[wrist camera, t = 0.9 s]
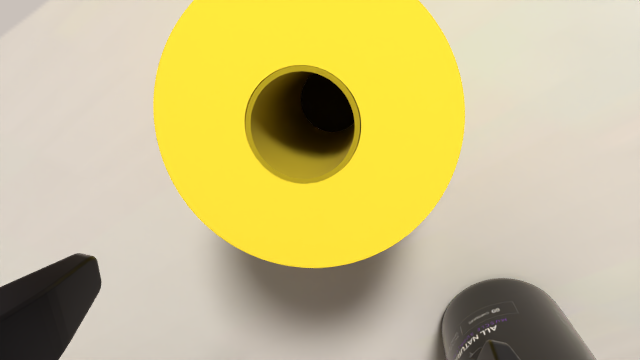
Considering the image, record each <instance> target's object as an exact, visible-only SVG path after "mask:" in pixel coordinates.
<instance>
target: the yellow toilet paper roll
mask: <svg viewBox="0 0 640 360" xmlns="http://www.w3.org/2000/svg"><path fill="white" fill-rule="evenodd" d="M314 73H316V74H319V75H322V76H324V77H326V78H327V79H329V80H331V81H332V82H333V83H335V84H336V85H337V86H338V87H339V88H340V89H341V90H342V92H343V93H344V94H345V96H346V97H347V99H348V101H349V103H350V105H351V108H352V111H353V115H354V123H353V124H352V125H351V126H350V127H348V128H346V129H344V130H341V131H337V132H328V131H323V130H321V129H319V128H317V127H315V126H314V125H313V124H311V123H310V121H309V120H308V119H307V117H306V116H305V114H304V112H303V109H302V104H301V95H302V90H303V87H304V85H305V83H306V81H307V80H308V79H309V77H310V76H311V75H312V74H314ZM153 108H154V124H155V131H156V137H157V141H158V145H159V149H160V153H161V156H162V159H163V162H164V164H165V167H166V169H167V171H168V174H169V176H170V178H171V180H172V182H173V184H174V185H175V187H176V189H177V190H178V192H179V194H180V195H181V197H182V198H183V200H184V201H185V202H186V204H187V205H188V206H189V208H190V209H191V210H192V211H193V212H194V214H195V215H196V216H197V217H198V218H199V219H200V220H201V221H202V222H203V223H204V224H205V225H206V226H207V227H208V228H210V229H211V230H212V231H213V232H214V233H216V234H217V235H218V236H219V237H221V238H222V239H224V240H225V241H227V242H228V243H230V244H231V245H233V246H235V247H236V248H238V249H240V250H242V251H244V252H246V253H248V254H250V255H253V256H255V257H258V258H260V259H263V260H266V261H269V262H273V263H277V264H281V265H286V266H293V267H302V268H325V267H334V266H340V265H346V264H350V263H354V262H357V261H360V260H363V259H366V258H369V257H371V256H374V255H376V254H378V253H380V252H382V251H384V250H386V249H388V248H389V247H391V246H393V245H394V244H396V243H397V242H399V241H400V240H402V239H403V238H404V237H406V236H407V235H408V234H409V233H411V232H412V231H413V230H414V229H415V228H416V227H417V226H418V225H419V224H420V223H421V222H422V221H423V220H424V219H425V218H426V217H427V216H428V215H429V213H430V212H431V211H432V210H433V208H434V207H435V206H436V204H437V203H438V201H439V200H440V198H441V197H442V195H443V193H444V192H445V190H446V188H447V186H448V184H449V182H450V180H451V178H452V175H453V173H454V170H455V168H456V165H457V162H458V158H459V155H460V151H461V147H462V141H463V134H464V124H465V104H464V94H463V87H462V82H461V77H460V73H459V69H458V66H457V63H456V60H455V57H454V55H453V52H452V50H451V48H450V45H449V43H448V41H447V39H446V37H445V36H444V34H443V32H442V30H441V29H440V27H439V26H438V24H437V23H436V21H435V20H434V18H433V17H432V16H431V14H430V13H429V12H428V10H427V9H426V8H425V7H424V6H423V5H422V4H421V3H420V1H419V0H194V1H193V2H192V3H191V4H190V5H189V7H188V8H187V9H186V10H185V12H184V13H183V14H182V16H181V17H180V19H179V20H178V22H177V23H176V25H175V27H174V28H173V30H172V32H171V34H170V36H169V38H168V40H167V43H166V45H165V47H164V50H163V53H162V56H161V59H160V62H159V66H158V70H157V75H156V80H155V87H154V102H153Z"/></svg>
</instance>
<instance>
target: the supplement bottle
mask: <svg viewBox="0 0 640 360" xmlns="http://www.w3.org/2000/svg"><path fill="white" fill-rule="evenodd" d="M442 339H443V344H444V350H445V354H446V359H447V360H477V358H478V356H479V354H480V352H481V350H482V348H483V346H484V344H485V342H486V341H487V340H494V341H499V342H504V343H506V344H508V345H509V346H510V347H511V348H512V349H513V351H514V352H515V353H516V355H517V356H518V357H519V358H520V360H596V358H595V357H594V355H593V354H592V353H591V351H590V350H589V348H588V347H587V346H586V344H585V343H584V341H583V340H582V338H581V337H580V336H579V334H578V333H577V331H576V330H575V329H574V327H573V326H572V324H571V323H570V321H569V320H568V319H567V317H566V316H565V314H564V313H563V312H562V310H561V309H560V308H559V306H558V305H557V304H556V302H555V301H554V300H553V299H552V298H551V297H550V296H549V295H548V294H547V293H545V292H544V291H543V290H541V289H540V288H538V287H536V286H534V285H532V284H530V283H527V282H524V281H520V280H515V279H507V278H498V279H490V280H485V281H481V282H479V283H476V284H474V285H471V286H470V287H468V288H466V289H465V290H463V291H462V292H460V293H459V294H458V295H457V296H456V297H455V298H454V299H453V300H452V302H451V303H450V304H449V306H448V308H447V310H446V312H445V314H444V317H443V322H442Z"/></svg>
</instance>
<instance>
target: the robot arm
mask: <svg viewBox="0 0 640 360" xmlns="http://www.w3.org/2000/svg"><path fill="white" fill-rule="evenodd" d="M100 288H101V277H100V272H99V267H98V262H97V259H96V258H95V257H94V256H90V255H86V254H81V253H77V254H74V255H71V256H69V257H67V258H65V259H62V260H60V261H58V262H56V263H53V264H51V265H49V266H47V267H44V268H42V269H40V270H38V271H35V272H33V273H31V274H29V275H26V276H24V277H22V278H20V279H17V280H15V281H13V282H11V283H8V284H6V285H4V286H2V287H0V360H59V358H60V357H61V355H62V354H63V352H64V351H65V349H66V348H67V346H68V344H69V343H70V341H71V340H72V338H73V336H74V334H75V333H76V331H77V329H78V327H79V326H80V324H81V322H82V321H83V319H84V317H85V315H86V314H87V312H88V310H89V309H90V307H91V305H92V303H93V302H94V300H95V298H96V296H97V295H98V293H99V291H100ZM477 360H520V358H519V357H518V356H517V355H516V353H515V352H514V351H513V349H512V348H511V347H510V346H509V345H508V344H506V343H504V342H499V341H494V340H487V341H486V342H485V344H484V346H483V348H482V350H481V352H480V354H479V356H478V358H477Z"/></svg>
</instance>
